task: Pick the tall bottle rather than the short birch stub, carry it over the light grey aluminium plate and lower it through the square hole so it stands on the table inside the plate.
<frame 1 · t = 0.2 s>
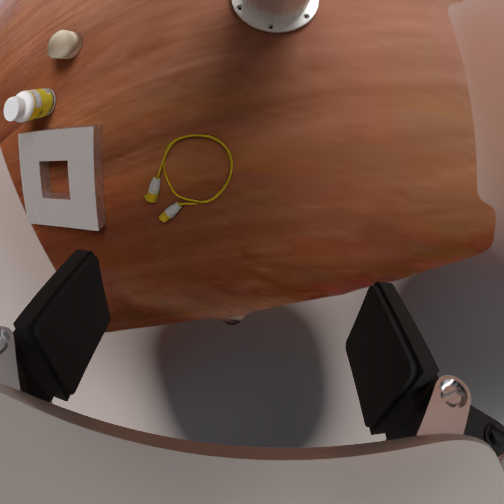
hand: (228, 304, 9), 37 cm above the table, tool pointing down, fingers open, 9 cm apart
short stub: (71, 45, 32), on the table
hole plate: (63, 175, 43), on the table
supplement bottle: (46, 102, 37), on the table
extension cord: (187, 174, 45), on the table
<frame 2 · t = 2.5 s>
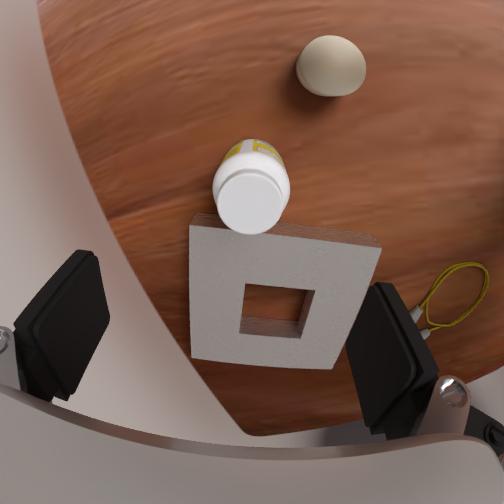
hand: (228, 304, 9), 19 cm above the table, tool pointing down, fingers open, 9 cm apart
short stub: (323, 70, 21), on the table
hole plate: (274, 295, 33), on the table
supplement bottle: (253, 167, 26), on the table
extension cord: (443, 299, 34), on the table
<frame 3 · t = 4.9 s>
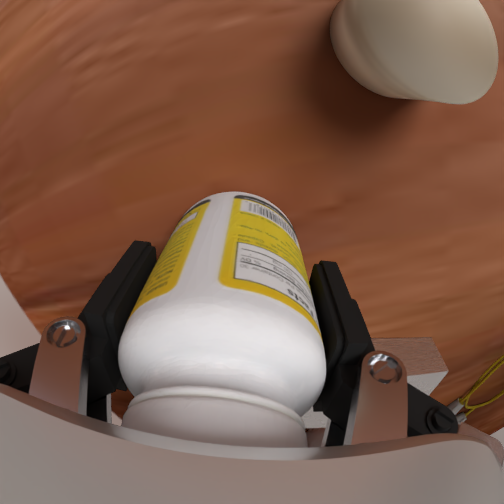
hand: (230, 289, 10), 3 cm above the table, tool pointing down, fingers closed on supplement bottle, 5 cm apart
short stub: (388, 41, 8), on the table
hole plate: (274, 414, 20), on the table
supplement bottle: (236, 246, 13), on the table, touching gripper
extension cord: (486, 381, 21), on the table
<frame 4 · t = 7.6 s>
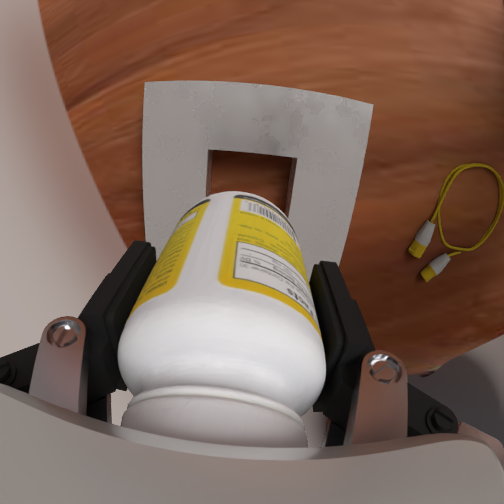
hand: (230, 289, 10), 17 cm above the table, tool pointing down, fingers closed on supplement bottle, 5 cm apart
hole plate: (249, 184, 26), on the table
supplement bottle: (236, 245, 13), point 14 cm above the table, touching gripper
extension cord: (456, 214, 28), on the table
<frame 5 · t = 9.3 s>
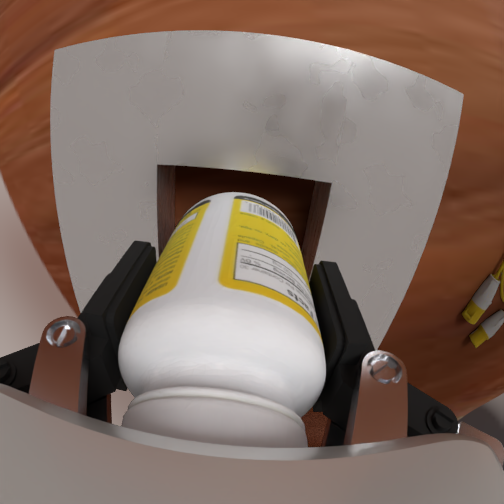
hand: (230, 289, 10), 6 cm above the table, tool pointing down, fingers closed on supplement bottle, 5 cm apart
hole plate: (239, 222, 15), on the table
supplement bottle: (236, 246, 13), point 3 cm above the table, touching gripper
when the fingers open (4 cm above the table, at t = 10.6 s): supplement bottle drops 1 cm, resting in hole plate.
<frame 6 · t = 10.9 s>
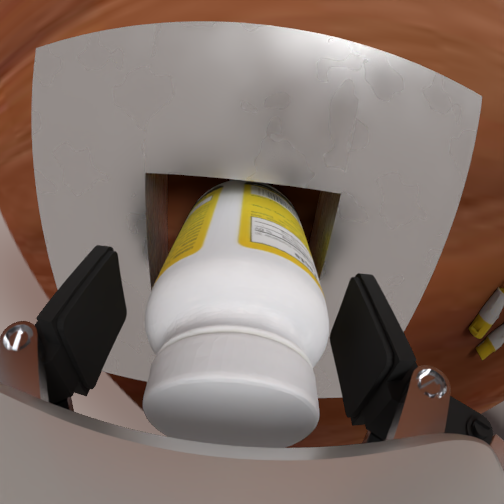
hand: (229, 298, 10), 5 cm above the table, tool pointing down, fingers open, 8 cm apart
hole plate: (238, 233, 14), on the table
supplement bottle: (244, 229, 14), resting in hole plate
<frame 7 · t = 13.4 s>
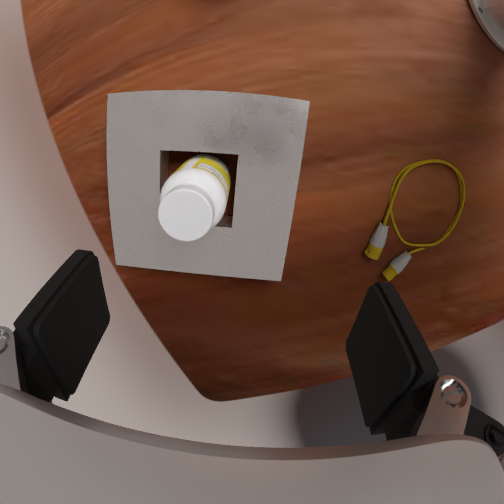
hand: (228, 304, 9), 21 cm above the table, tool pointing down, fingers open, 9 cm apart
hole plate: (201, 181, 28), on the table
supplement bottle: (205, 179, 29), resting in hole plate
extension cord: (413, 212, 31), on the table
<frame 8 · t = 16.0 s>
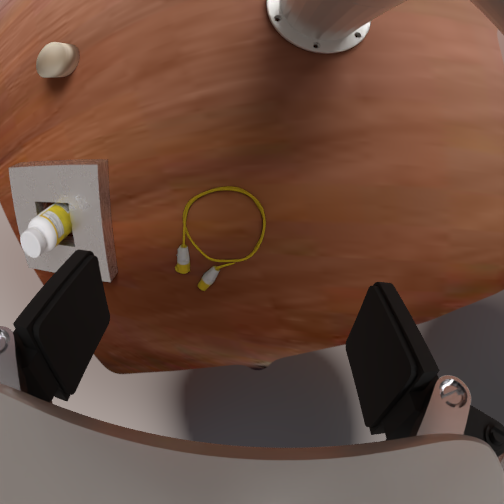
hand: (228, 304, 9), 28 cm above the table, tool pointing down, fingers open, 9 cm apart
short stub: (65, 60, 27), on the table
hole plate: (64, 216, 38), on the table
supplement bottle: (66, 214, 39), resting in hole plate
extension cord: (215, 233, 41), on the table
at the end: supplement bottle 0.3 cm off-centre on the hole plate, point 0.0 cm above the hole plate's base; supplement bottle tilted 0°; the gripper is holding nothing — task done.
